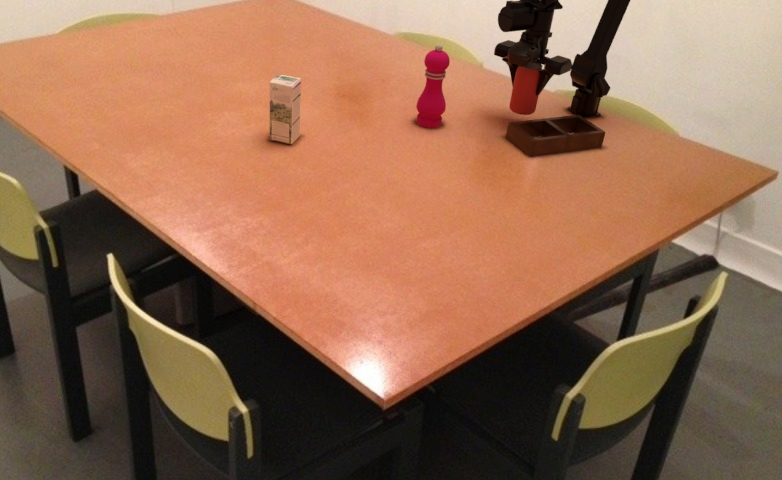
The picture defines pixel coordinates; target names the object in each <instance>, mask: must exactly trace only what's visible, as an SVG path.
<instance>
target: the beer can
mask: <svg viewBox="0 0 782 480" xmlns="http://www.w3.org/2000/svg"><path fill="white" fill-rule="evenodd" d="M543 68H544V65H543V64H540V63H536V62H535V63H531V62H529V63H528V64H527V65H526V66H524V67H520V66H518V68H517V70H516V73H515V78H514V84H513V86H512V90H511V95H510V101H509V106H508V108H509V110H510V111H511V112H512V113H514V114H516V115H521V116H528V115H533V114H534V113H535V112H536V111H537V105H538V101H539V97H540V94H539V95H538V96H537V95H536V90H537V86H538V82H539V78H540V74H539V71H540V70H542V69H543Z"/></svg>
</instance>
